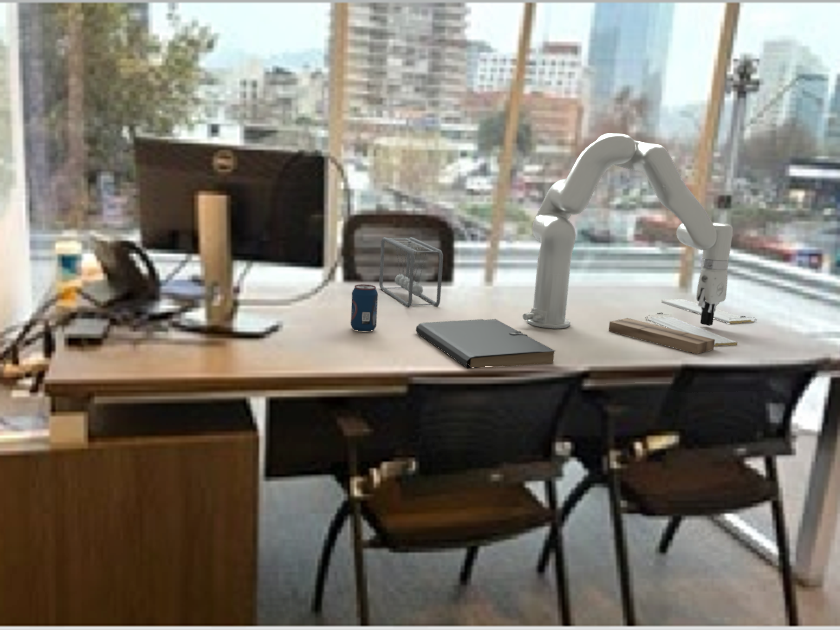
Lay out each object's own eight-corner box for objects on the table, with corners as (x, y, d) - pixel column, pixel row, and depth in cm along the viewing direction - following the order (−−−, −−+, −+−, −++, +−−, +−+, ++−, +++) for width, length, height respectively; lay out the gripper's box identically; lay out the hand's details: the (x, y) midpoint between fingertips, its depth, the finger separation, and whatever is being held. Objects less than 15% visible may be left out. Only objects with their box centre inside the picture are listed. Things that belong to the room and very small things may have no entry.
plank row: (696, 354, 226) (697, 343, 225) (608, 331, 246) (609, 321, 245) (713, 349, 232) (715, 339, 231) (626, 327, 252) (627, 317, 251)
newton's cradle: (378, 288, 287) (381, 236, 283) (407, 287, 291) (410, 236, 287) (408, 308, 260) (411, 251, 256) (440, 307, 264) (443, 250, 260)
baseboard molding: (687, 302, 296) (660, 304, 291) (688, 294, 296) (661, 296, 291) (756, 323, 269) (728, 326, 264) (758, 314, 269) (729, 317, 264)
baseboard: (707, 348, 235) (736, 347, 239) (708, 338, 235) (737, 337, 238) (643, 321, 263) (670, 321, 266) (644, 313, 262) (671, 312, 266)
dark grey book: (556, 349, 209) (466, 355, 200) (555, 365, 210) (465, 372, 201) (496, 317, 239) (416, 321, 230) (495, 331, 240) (415, 336, 231)
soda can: (349, 326, 234) (350, 283, 231) (374, 326, 235) (375, 284, 233) (352, 332, 227) (354, 288, 225) (378, 333, 229) (380, 289, 226)
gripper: (713, 268, 246) (705, 330, 250) (738, 264, 256) (730, 324, 260) (690, 264, 251) (682, 324, 255) (715, 260, 261) (707, 319, 265)
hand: (706, 324), depth 258 cm, fingers closed
